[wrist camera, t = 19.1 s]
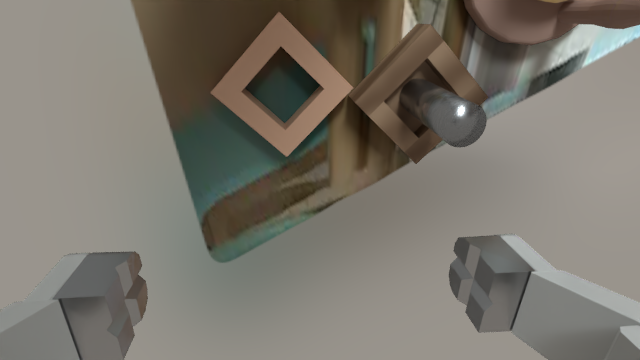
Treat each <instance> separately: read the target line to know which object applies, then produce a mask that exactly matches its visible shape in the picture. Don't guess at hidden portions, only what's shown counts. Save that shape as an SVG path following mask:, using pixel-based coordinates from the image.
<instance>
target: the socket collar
mask: <svg viewBox="0 0 640 360" xmlns="http://www.w3.org/2000/svg"><path fill="white" fill-rule="evenodd" d="M280 46H281V47H282V48H283V49H284V50H285V51H286V52H287V53H288V54H289V55H290V56H291V57H292V58H293V59H294V60H295V61H296V62H297V63H299V64H300V65H301V66H302V67H303V68H304V69H305V70H306V71H307V72H308V73H309V74H310V75H311V76H312V77H313V78H314V79H315V80H316V81H317V82H318V83H319V84H320V86H319V87H318V88H317V89H316V90H315V91H314V93H313V94H312V95H311V96H310V97H309V98H308V99H307V100H306V101H305V102H304V103H303V104H302V105H301V106H300V108H299V109H298V110H297V111H296V112H295V113H294V114H293V115H292V116H291V117H290V118H289V119H288V120H287V122H286V123H284V122H283V121H282V120H280V119H279V118H278V117H277V116H276V115H275V114H274V113H272V112H271V111H270V110H269V109H268V108H267V107H266V106H265V105H263V104H262V103H261V102H260V101H259V100H258V99H257V98H255V97H254V96H253V95H252V94H251V93H250V92H249V91H248V90H246V89H245V87H246V86H247V84H248V83H249V82H250V81H251V80H252V79H253V77H254V76H255V75H256V74H257V73H258V72H259V71H260V69H261V68H262V67H263V66H264V65H265V64H266V62H267V61H268V60H269V59H270V58H271V57H272V56H273V54H274V53H275V52H276V51H277V50H278V49H279V48H280ZM352 89H353V87H352V86H351V85H350V84H349V83H348V82H347V81H346V80H345V79H344V78H343V77H342V76H341V75H340V74H339V73H338V72H337V71H336V70H335V68H334V67H333V66H332V65H331V64H330V63H329V62H328V61H327V60H326V59H325V58H324V57H323V56H322V55H321V54H320V53H319V52H318V51H317V50H316V49H315V48H314V47H313V46H312V45H311V44H310V43H309V42H308V41H307V40H306V39H305V38H304V37H303V36H302V35H301V34H300V33H299V32H298V31H297V30H296V29H295V27H294V26H293V25H292V24H291V23H290V22H289V21H288V20H287V19H286V18H285V17H284V16H283V15H282V14H281V13H280V12H278V13H277V14H276V15H275V17H274V18H273V19H272V20H271V21H270V22H269V24H268V25H267V26H266V27H265V28H264V30H263V31H262V32H261V33H260V34H259V36H258V37H257V38H256V39H255V40H254V41H253V43H252V44H251V45H250V46H249V47H248V49H247V50H246V51H245V52H244V53H243V55H242V56H241V57H240V58H239V59H238V60H237V62H236V63H235V64H234V65H233V66H232V68H231V69H230V70H229V71H228V72H227V73H226V75H225V76H224V77H223V78H222V79H221V81H220V82H219V83H218V84H217V85H216V87H215V88H214V89H213V90H212V91H211V92H210V93H211V94H212V95H213V96H215V97H216V98H217V99H218V100H219V101H221V102H222V103H223V104H224V105H225V106H227V107H228V108H229V109H230V110H231V111H233V112H234V113H235V114H236V115H237V116H239V117H240V118H241V119H242V120H243V121H244V122H246V123H247V124H248V125H249V126H250V127H252V128H253V129H254V130H255V131H256V132H258V133H259V134H260V135H261V136H262V137H264V138H265V139H266V140H267V141H268V142H270V143H271V144H272V145H273V146H274V147H276V148H277V149H278V150H279V151H280V152H282V153H283V154H284V155H285V156H286V157H287V156H288V155H289V154H290V153H291V152H292V151H293V150H294V149H295V148H296V147H297V146H298V145H299V144H300V143H301V142H302V141H303V140H304V139H305V138H306V137H307V136H308V135H309V134H310V132H311V131H312V130H313V129H314V128H315V127H316V126H317V125H318V124H319V123H320V122H321V121H322V120H323V119H324V118H325V117H326V116H327V115H328V114H329V113H330V112H331V111H332V110H333V109H334V108H335V106H336V105H337V104H338V103H339V102H340V101H341V100H342V99H343V98H344V97H345V96H346V95H347V94H348V93H349V92H350V91H351V90H352Z"/></svg>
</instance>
